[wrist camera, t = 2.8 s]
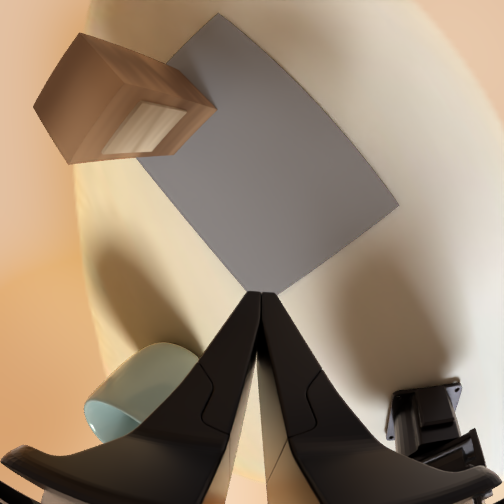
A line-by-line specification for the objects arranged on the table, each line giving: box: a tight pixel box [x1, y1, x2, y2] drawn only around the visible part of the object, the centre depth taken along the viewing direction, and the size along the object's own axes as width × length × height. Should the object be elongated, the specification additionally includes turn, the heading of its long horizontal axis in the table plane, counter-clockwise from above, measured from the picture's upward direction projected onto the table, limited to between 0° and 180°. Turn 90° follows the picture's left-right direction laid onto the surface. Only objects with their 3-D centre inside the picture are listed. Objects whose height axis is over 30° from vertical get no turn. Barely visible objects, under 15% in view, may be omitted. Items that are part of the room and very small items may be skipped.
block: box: [33, 33, 217, 165], centre depth 15 cm, size 5×4×10 cm
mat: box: [136, 13, 399, 295], centre depth 20 cm, size 18×12×1 cm, turn 42°
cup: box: [84, 342, 199, 443], centre depth 23 cm, size 8×8×10 cm
